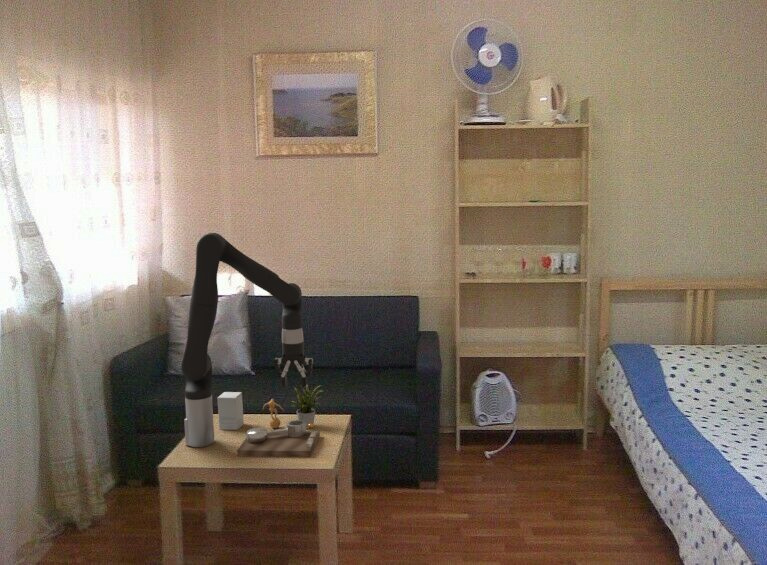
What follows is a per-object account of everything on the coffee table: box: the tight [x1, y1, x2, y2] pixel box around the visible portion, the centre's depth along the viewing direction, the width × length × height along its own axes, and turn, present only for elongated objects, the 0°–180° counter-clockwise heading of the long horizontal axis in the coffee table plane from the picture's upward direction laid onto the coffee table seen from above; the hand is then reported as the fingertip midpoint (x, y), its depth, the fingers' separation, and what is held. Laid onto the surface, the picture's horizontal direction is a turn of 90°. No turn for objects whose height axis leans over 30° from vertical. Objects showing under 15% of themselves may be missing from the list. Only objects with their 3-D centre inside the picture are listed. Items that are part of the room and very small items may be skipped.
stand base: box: [236, 430, 321, 458], centre depth 249 cm, size 25×19×3 cm
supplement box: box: [216, 391, 245, 431], centre depth 269 cm, size 7×7×13 cm
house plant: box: [290, 384, 323, 430], centre depth 267 cm, size 14×14×16 cm
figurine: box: [262, 398, 285, 429], centre depth 265 cm, size 8×6×12 cm
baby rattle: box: [246, 419, 314, 443], centre depth 252 cm, size 24×7×4 cm, turn 110°
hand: (294, 386), depth 252 cm, fingers open, 6 cm apart
